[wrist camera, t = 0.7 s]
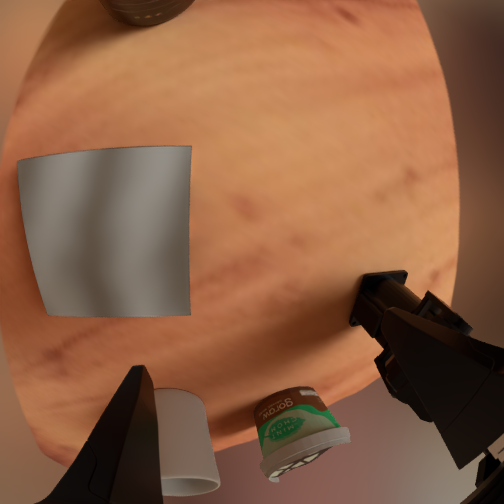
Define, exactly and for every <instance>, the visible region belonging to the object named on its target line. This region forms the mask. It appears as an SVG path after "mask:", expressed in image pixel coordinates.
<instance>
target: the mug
mask: <svg viewBox="0 0 504 504" xmlns="http://www.w3.org/2000/svg"><path fill="white" fill-rule="evenodd" d="M154 396H155V404H156V411H157V419H158V434H159V457H160V472H161V484H162V495H166V496H191V495H199V494H203V493H207V492H211V491H213V490H215V489H217V488H218V487H219V486H220V478H219V474H218V469H217V466H216V461H215V457H214V452H213V448H212V443H211V438H210V433H209V428H208V423H207V417H206V410H205V406H204V403H203V402H202V400H201V399H200V398H199V397H197V396H196V395H194V394H193V393H190V392H188V391H184V390H180V389H172V388H163V389H155V390H154Z"/></svg>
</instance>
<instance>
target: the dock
mask: <svg viewBox="0 0 504 504" xmlns="http://www.w3.org/2000/svg"><path fill="white" fill-rule="evenodd" d="M191 153H192V146H137V147H119V148H105V149H93V150H83V151H74V152H66V153H59V154H51V155H45V156H39V157H33V158H27V159H23V160H19V161H17V169H18V183H19V193H20V202H21V209H22V216H23V222H24V228H25V234H26V239H27V244H28V248H29V253H30V257H31V261H32V265H33V269H34V273H35V277H36V280H37V284H38V287H39V290H40V294H41V297H42V300H43V303H44V306H45V309H46V312H47V315H48V316H70V317H160V316H187V315H191V309H190V276H189V206H190V174H191Z"/></svg>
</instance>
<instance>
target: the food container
mask: <svg viewBox="0 0 504 504" xmlns="http://www.w3.org/2000/svg"><path fill="white" fill-rule="evenodd" d="M254 418H255V423H256V427H257V432H258V437H259V441H260V446H261V450H262V454H263V459H264V460H263V461H262V462H261V463H260V468H261V470H262V471H263V473H264V474H265V476H266V477H267V478H269V480H270V481H272V482H279V479H278V476H280V475H282V474H284V473H286V472H288V471H290V470H292V469H294V468H297V467H300V466H303V465H306V464H308V463H310V462H312V461H313V460H315V459H316V458H318V457H319V456H320V455H321V454H323V453H324V452H325V451H327V450H328V449H329V448H331V447H333V446H335V445H338V444H343V443H351V441H350V439H349V438H350V434H349V430H348V428H347V427H340V425H339V424H338V422H337V421H336V420H335V418H334V417H333V416H332V414H331V413H330V411H329V410H328V408H327V407H326V406H325V404H324V403H323V401H322V400H321V399H320V397H319V396H318V394H317V393H316V391H315V390H314V389H313V388H311V387H301V386H299V387H293V388H288V389H285V390H282V391H279V392H276V393H274V394H272V395H270V396H269V397H267V398H265V399H264V400H263V401H261V402H260V403H259V404H258V405H257V407H256V408H255V410H254Z"/></svg>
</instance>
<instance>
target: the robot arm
mask: <svg viewBox="0 0 504 504" xmlns="http://www.w3.org/2000/svg"><path fill="white" fill-rule="evenodd" d="M407 276H408V273H407V272H406V271H405V270H402V271H392V272H382V273H371V274H366V275H365V276H364V277H363V280H362V283H361V286H360V290H359V293H358V296H357V299H356V302H355V305H354V308H353V311H352V314H351V317H350V320H349V325H350V326H351V327H354V326H359V325H361V326H362V327H363V328H364V329H365V330H366V331H367V333H368V334H369V335H370V336H371V337H372V338H375V339H376V340H377V342H378V343H379V344H380V345H381V346H382V348H383V349H384V350H383V351H382V352H381V354H380V355H379V356H377V357H376V358H375V359H374V362H375V364H376V366H377V369H378V371H379V373H380V375H381V377H382V379H383V381H384V383H385V385H386V387H387V389H388V391H389V393H390V394H391V396H392V397H393V398H397V399H398V400H399V401H401V402H403V403H405V404H408V405H409V406H410V407H411V408H412V409H413V411H414V412H415V413H416V414H417V415H418V417H419V418H420V419H421V420H424V421H427V422H434V423H435V425H436V427H437V429H438V431H439V433H440V434H441V436H442V438H443V440H444V442H445V444H446V446H447V448H448V450H449V451H450V454H451V456H452V457H453V459H454V461H455V463H456V465H457V467H458V469H459V470H460V469H462V468H463V467H464V466H465V465H467V464H468V463H470V462H471V461H472V460H474V459H475V458H476V457H477V456H479V455H480V454H481V453H482V452H483V453H484V454H485V455H486V456H485V457H484V458H483V459H482V460H481V461H480V462H479V466H478V472H477V478H476V483H475V485H476V487H477V489H476V490H475V491H474V492H472V493H471V494H470V495H469V496H468V497H467V498H466V499H465V500H464V501H462V502H461V503H460V504H504V348H501V347H498V346H494V345H491V344H488V343H485V342H482V341H479V340H477V339H474V338H472V337H471V336H470V333H471V332H472V331H473V328H472V327H471V326H470V325H469V324H468V323H467V322H466V321H465V320H464V319H463V318H462V317H461V316H459V315H458V314H457V313H456V312H455V311H454V310H453V309H452V308H450V307H449V306H448V305H447V304H446V303H444V302H443V301H442V300H441V299H439V298H438V297H437V296H435V295H434V294H432V293H431V292H430V291H427V292H426V294H425V296H424V298H423V299H422V300H421V299H420V298H419V297H417V296H416V295H415V294H414V293H413V292H412V291H410V290H409V289H408V288H407V287H406V286H405V285H404V284H405V281H406V278H407ZM87 440H88V441H86V442H85V444H84V446H83V447H82V449H81V451H80V452H79V454H78V456H77V457H76V459H75V460H74V462H73V463H72V465H71V466H70V468H69V469H68V470H67V472H66V473H65V475H64V476H63V477H62V478H61V480H60V481H59V483H58V484H57V485H56V487H55V488H54V489H53V491H52V492H51V493H50V494H49V495H48V496H47V497H46V498H45V499H43V500H42V501H40V502H38V503H35V504H163V495H162V484H161V472H160V457H159V434H158V419H157V411H156V404H155V396H154V387H153V382H152V379H151V377H150V375H149V373H148V371H147V369H146V367H145V366H144V365H135V366H132V367H131V369H130V371H129V372H128V374H127V375H126V377H125V378H124V380H123V382H122V383H121V385H120V386H119V388H118V390H117V391H116V393H115V394H114V396H113V398H112V399H111V401H110V402H109V404H108V406H107V407H106V409H105V411H104V412H103V414H102V416H101V417H100V419H99V421H98V422H97V424H96V426H95V427H94V429H93V431H92V432H91V434H90V436H89V437H88V439H87Z"/></svg>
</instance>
